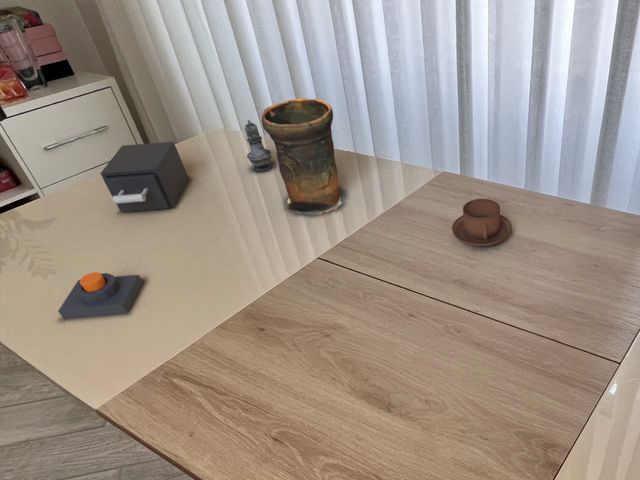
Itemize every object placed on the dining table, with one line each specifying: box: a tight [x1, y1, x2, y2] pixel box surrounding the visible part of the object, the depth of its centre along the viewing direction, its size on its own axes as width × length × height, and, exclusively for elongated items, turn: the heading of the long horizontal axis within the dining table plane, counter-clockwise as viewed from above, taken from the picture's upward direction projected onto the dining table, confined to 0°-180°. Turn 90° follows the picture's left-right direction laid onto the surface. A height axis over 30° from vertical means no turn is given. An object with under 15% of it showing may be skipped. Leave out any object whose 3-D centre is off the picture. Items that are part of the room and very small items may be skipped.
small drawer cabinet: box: [100, 141, 190, 213], centre depth 125 cm, size 14×12×10 cm
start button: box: [79, 271, 106, 292], centre depth 97 cm, size 4×4×2 cm
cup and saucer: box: [451, 198, 512, 247], centre depth 110 cm, size 12×12×6 cm
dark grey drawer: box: [103, 173, 170, 213], centre depth 122 cm, size 17×10×8 cm, turn 6°
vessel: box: [261, 97, 343, 217], centre depth 117 cm, size 14×14×20 cm
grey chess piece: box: [244, 119, 275, 173], centre depth 132 cm, size 6×6×12 cm
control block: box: [57, 272, 144, 320], centre depth 99 cm, size 11×9×4 cm
